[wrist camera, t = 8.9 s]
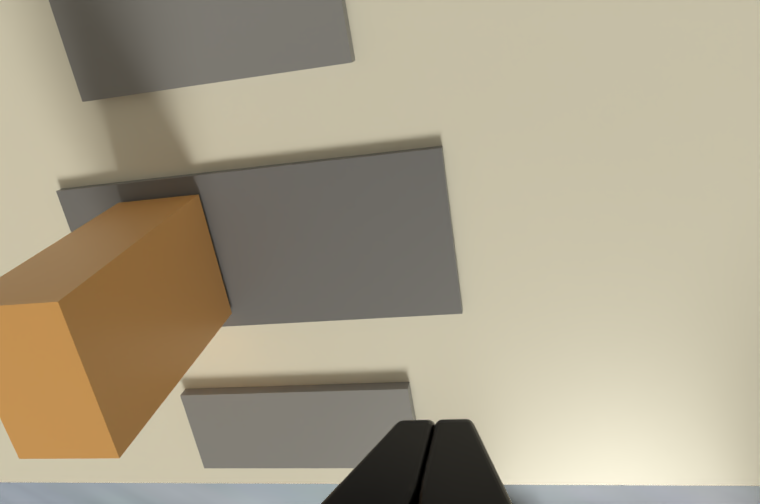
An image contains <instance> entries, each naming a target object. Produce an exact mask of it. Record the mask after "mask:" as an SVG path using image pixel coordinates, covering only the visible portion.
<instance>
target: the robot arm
mask: <svg viewBox="0 0 760 504" xmlns="http://www.w3.org/2000/svg"><path fill="white" fill-rule="evenodd" d="M321 504H512V502H511V500H510V498H509V496H508V493H507V491H506V489H505V487H504V485H503V483H502V481H501V479H500V477H499V475H498V473H497V471H496V469H495V466H494V464H493V462H492V460H491V458H490V456H489V454H488V452H487V450H486V448H485V446H484V444H483V441H482V439H481V437H480V435H479V433H478V431H477V429H476V427H475V425H474V423H473V422H472V421H471V420H469V419H442V420H439V421H438V422H436V424H435V423H434V422H433V421H431V420H402V421H399V422H398V423H396V424H395V425H394V426H393V427H392V429H391V430H390V431H389V432H388V433H387V434H386V435H385V436H384V437H383V438H382V439H381V440H380V441H379V442H378V443H377V445H376V446H375V447H374V448H373V449H372V450H371V451H370V452H369V453H368V454H367V455H366V456H365V457H364V458H363V460H362V461H361V462H360V463H359V464H358V465H357V466H356V467H355V468H354V469H353V470H352V471H351V472H350V473H349V474H348V476H347V477H346V478H345V479H344V480H343V481H342V482H341V483H340V484H339V485H338V486H337V487H336V488H335V489H334V491H333V492H332V493H331V494H330V495H329V496H328V497H327V498H326V499H325V500H324V501H323V502H322V503H321Z"/></svg>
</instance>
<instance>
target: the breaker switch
mask: <svg viewBox="0 0 760 504" xmlns="http://www.w3.org/2000/svg"><path fill="white" fill-rule="evenodd" d="M231 314H232V312H231V308H230V305H229V301H228V298H227V294H226V291H225V287H224V283H223V280H222V276H221V273H220V269H219V265H218V262H217V258H216V255H215V251H214V248H213V244H212V240H211V237H210V233H209V230H208V226H207V223H206V219H205V215H204V212H203V208H202V205H201V201H200V198H199V194H197V195H187V196H178V197H168V198H159V199H149V200H140V201H130V202H120V203H117V204H116V205H114V206H113V207H111V208H109V209H108V210H106V211H105V212H103V213H101V214H100V215H98V216H97V217H95V218H93V219H92V220H90V221H89V222H87V223H85V224H84V225H82V226H81V227H79V228H77V229H76V230H74V231H73V232H71V233H70V234H68V235H66V236H65V237H63V238H62V239H60V240H58V241H57V242H55V243H54V244H52V245H50V246H49V247H47V248H46V249H44V250H42V251H41V252H39V253H38V254H36V255H34V256H33V257H31V258H30V259H28V260H26V261H25V262H23V263H22V264H20V265H19V266H17V267H15V268H14V269H12V270H11V271H9V272H7V273H6V274H4V275H3V276H1V277H0V419H1V421H2V423H3V425H4V428H5V430H6V432H7V434H8V436H9V438H10V440H11V443H12V445H13V447H14V449H15V451H16V453H17V455H18V458H19V459H97V458H120V457H121V456H122V455H123V453H124V452H125V451H126V449H127V448H128V447H129V445H130V444H131V443H132V442H133V440H134V439H135V438H136V436H137V435H138V434H139V433H140V431H141V430H142V429H143V427H144V426H145V425H146V424H147V422H148V421H149V420H150V418H151V417H152V416H153V415H154V413H155V412H156V411H157V409H158V408H159V407H160V406H161V404H162V403H163V402H164V400H165V399H166V398H167V396H168V395H169V394H170V393H171V391H172V390H173V389H174V387H175V386H176V385H177V384H178V382H179V381H180V380H181V378H182V377H183V376H184V375H185V373H186V372H187V371H188V369H189V368H190V367H191V366H192V364H193V363H194V362H195V360H196V359H197V358H198V357H199V355H200V354H201V353H202V351H203V350H204V349H205V347H206V346H207V345H208V344H209V342H210V341H211V340H212V338H213V337H214V336H215V335H216V333H217V332H218V331H219V329H220V328H221V327H222V326H223V324H224V323H225V322H226V320H227V319H228V318H229V317H230V315H231Z"/></svg>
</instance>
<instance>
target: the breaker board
mask: <svg viewBox="0 0 760 504" xmlns="http://www.w3.org/2000/svg"><path fill="white" fill-rule="evenodd" d="M197 194H199V198H200V201H201V205H202V208H203V212H204V215H205V219H206V223H207V226H208V230H209V233H210V237H211V240H212V244H213V248H214V251H215V255H216V258H217V262H218V265H219V269H220V273H221V276H222V280H223V283H224V287H225V291H226V294H227V298H228V301H229V305H230V308H231V312H232V314H231V315H230V317H229V318H228V319H227V320H226V322H225V323H224V324H223V326H222V327H221V328H220V329H219V331H218V332H217V333H216V335H215V336H214V337H213V338H212V340H211V341H210V342H209V344H208V345H207V346H206V347H205V349H204V350H203V351H202V353H201V354H200V355H199V357H198V358H197V359H196V360H195V362H194V363H193V364H192V366H191V367H190V368H189V369H188V371H187V372H186V373H185V375H184V376H183V377H182V378H181V380H180V381H179V382H178V384H177V385H176V386H175V387H174V389H173V390H172V391H171V393H170V394H169V395H168V396H167V398H166V399H165V400H164V402H163V403H162V404H161V406H160V407H159V408H158V409H157V411H156V412H155V413H154V415H153V416H152V417H151V418H150V420H149V421H148V422H147V424H146V425H145V426H144V427H143V429H142V430H141V431H140V433H139V434H138V435H137V436H136V438H135V439H134V440H133V442H132V443H131V444H130V445H129V447H128V448H127V449H126V451H125V452H124V453H123V455H122V456H121V457H120V458H97V459H19V458H18V455H17V453H16V451H15V449H14V447H13V445H12V443H11V440H10V438H9V436H8V434H7V432H6V430H5V428H4V425H3V423H2V421H1V419H0V482H67V483H281V484H340V483H341V482H342V481H343V480H344V479H345V478H346V477H347V476H348V474H349V473H350V472H351V471H352V470H353V469H354V468H355V467H356V466H357V465H358V464H359V463H360V462H361V461H362V460H363V458H364V457H365V456H366V455H367V454H368V453H369V452H370V451H371V450H372V449H373V448H374V447H375V446H376V445H377V443H378V442H379V441H380V440H381V439H382V438H383V437H384V436H385V435H386V434H387V433H388V432H389V431H390V430H391V429H392V427H393V426H394V425H395V424H396V423H398V422H399V421H402V420H431V421H433V422H434V423H435V424H436V422H438V421H439V420H442V419H469V420H471V421H472V422H473V423H474V425H475V427H476V429H477V431H478V433H479V435H480V437H481V439H482V441H483V444H484V446H485V448H486V450H487V452H488V454H489V456H490V458H491V460H492V462H493V464H494V466H495V469H496V471H497V473H498V475H499V477H500V479H501V481H502V483H503V485H709V486H760V0H0V277H1V276H3V275H4V274H6V273H7V272H9V271H11V270H12V269H14V268H15V267H17V266H19V265H20V264H22V263H23V262H25V261H26V260H28V259H30V258H31V257H33V256H34V255H36V254H38V253H39V252H41V251H42V250H44V249H46V248H47V247H49V246H50V245H52V244H54V243H55V242H57V241H58V240H60V239H62V238H63V237H65V236H66V235H68V234H70V233H71V232H73V231H74V230H76V229H77V228H79V227H81V226H82V225H84V224H85V223H87V222H89V221H90V220H92V219H93V218H95V217H97V216H98V215H100V214H101V213H103V212H105V211H106V210H108V209H109V208H111V207H113V206H114V205H116V204H117V203H120V202H130V201H140V200H149V199H159V198H168V197H178V196H187V195H197Z"/></svg>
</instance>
